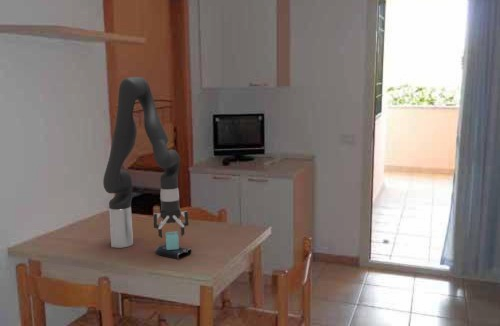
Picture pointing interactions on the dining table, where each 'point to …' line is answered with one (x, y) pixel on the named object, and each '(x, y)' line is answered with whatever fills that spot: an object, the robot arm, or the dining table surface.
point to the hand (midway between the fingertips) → (171, 236)
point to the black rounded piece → (171, 251)
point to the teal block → (172, 240)
